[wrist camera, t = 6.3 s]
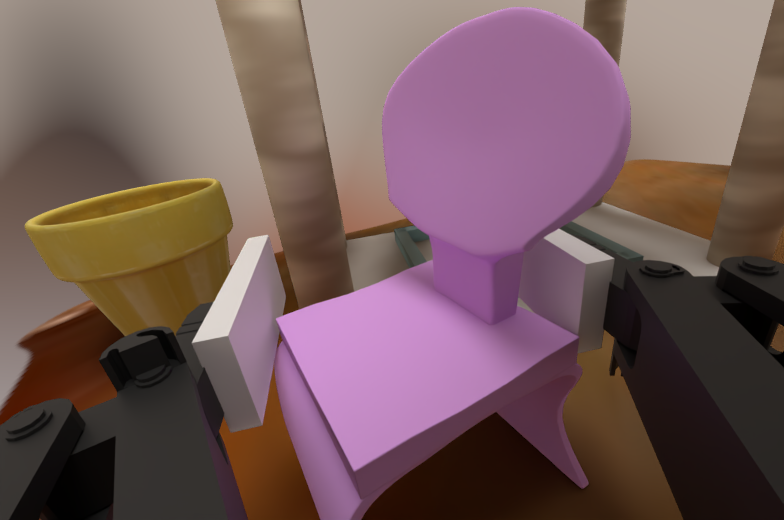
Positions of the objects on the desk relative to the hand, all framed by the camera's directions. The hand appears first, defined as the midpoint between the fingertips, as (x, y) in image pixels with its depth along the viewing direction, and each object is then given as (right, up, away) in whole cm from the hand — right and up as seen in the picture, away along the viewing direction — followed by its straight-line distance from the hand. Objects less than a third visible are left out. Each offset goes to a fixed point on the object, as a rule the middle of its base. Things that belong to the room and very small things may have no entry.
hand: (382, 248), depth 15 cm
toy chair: (+2, -9, -1) cm, 9 cm away
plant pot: (-15, -6, +12) cm, 20 cm away
